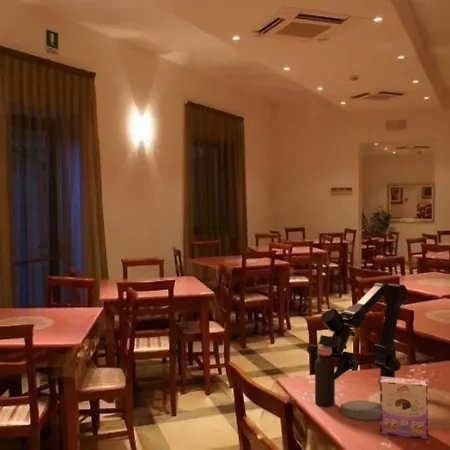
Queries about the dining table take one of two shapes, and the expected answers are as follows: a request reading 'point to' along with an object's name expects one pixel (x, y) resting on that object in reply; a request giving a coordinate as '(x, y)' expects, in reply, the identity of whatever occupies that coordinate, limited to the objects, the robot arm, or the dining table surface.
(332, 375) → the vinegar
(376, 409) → the plate
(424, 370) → the dining table surface
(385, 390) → the candy box
